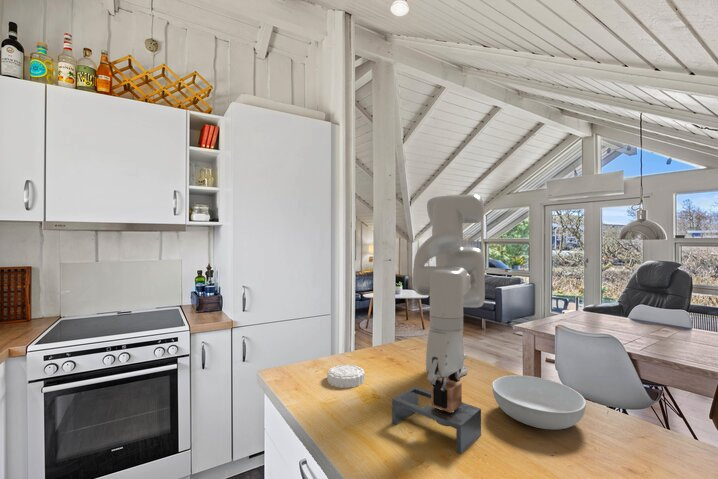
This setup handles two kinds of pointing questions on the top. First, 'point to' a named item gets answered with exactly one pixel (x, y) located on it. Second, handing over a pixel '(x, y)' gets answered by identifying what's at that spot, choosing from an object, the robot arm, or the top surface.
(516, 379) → the serving bowl
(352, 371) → the mooncake
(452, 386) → the keyhole peg
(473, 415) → the keyhole bracket
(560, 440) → the top surface
